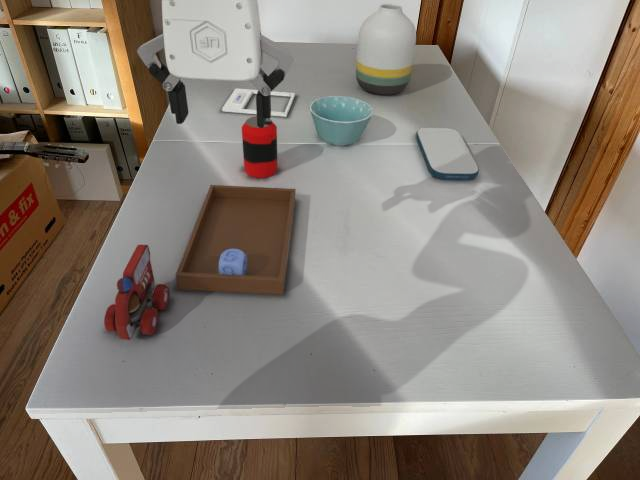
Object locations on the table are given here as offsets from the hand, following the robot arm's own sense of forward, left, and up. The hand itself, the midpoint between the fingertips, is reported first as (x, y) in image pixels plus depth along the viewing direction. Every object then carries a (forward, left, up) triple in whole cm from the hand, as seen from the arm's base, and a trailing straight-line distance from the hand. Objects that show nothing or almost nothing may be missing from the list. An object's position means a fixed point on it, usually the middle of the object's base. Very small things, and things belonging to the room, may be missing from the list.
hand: (222, 121), depth 60 cm
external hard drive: (+54, -42, -32) cm, 76 cm away
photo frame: (+80, +7, -32) cm, 87 cm away
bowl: (+61, -16, -32) cm, 71 cm away
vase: (+96, -29, -32) cm, 105 cm away
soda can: (+43, +2, -32) cm, 54 cm away
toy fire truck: (-3, +15, -32) cm, 36 cm away
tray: (+17, +2, -32) cm, 37 cm away
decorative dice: (+7, +2, -32) cm, 33 cm away
